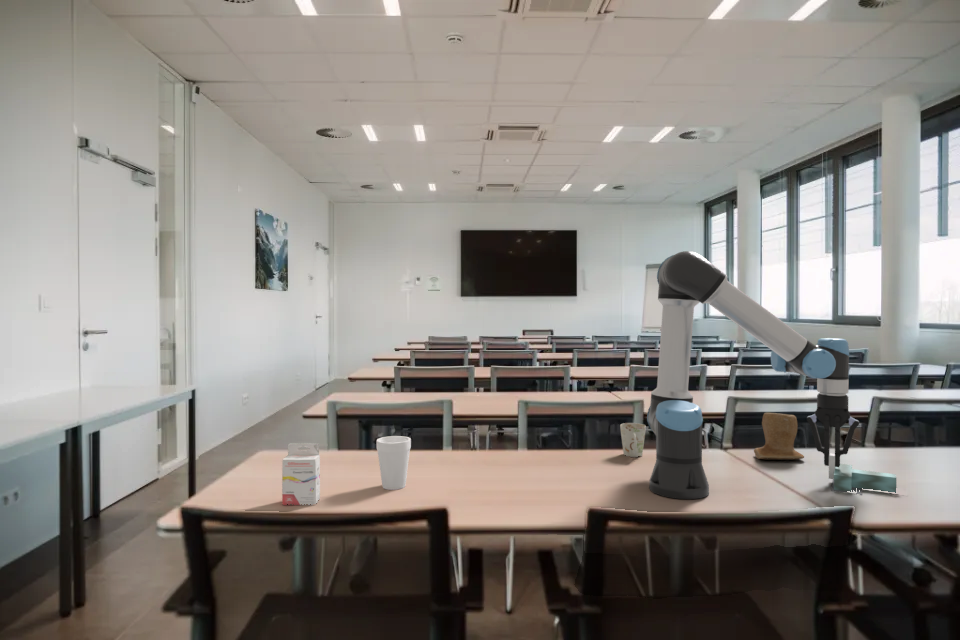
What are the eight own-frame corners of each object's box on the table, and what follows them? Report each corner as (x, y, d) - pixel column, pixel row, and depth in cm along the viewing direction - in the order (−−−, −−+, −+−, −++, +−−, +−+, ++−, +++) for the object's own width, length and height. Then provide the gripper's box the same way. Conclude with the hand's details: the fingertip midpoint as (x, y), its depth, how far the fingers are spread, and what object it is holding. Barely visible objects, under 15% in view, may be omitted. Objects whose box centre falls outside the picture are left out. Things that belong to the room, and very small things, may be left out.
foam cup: (378, 492, 159) (378, 444, 159) (375, 482, 168) (374, 437, 168) (413, 489, 162) (413, 442, 161) (408, 480, 170) (408, 435, 170)
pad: (831, 490, 159) (831, 490, 159) (833, 475, 173) (833, 475, 173) (909, 501, 150) (909, 501, 150) (904, 484, 164) (904, 484, 164)
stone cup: (790, 454, 199) (791, 409, 199) (809, 463, 187) (809, 415, 187) (744, 453, 200) (745, 409, 199) (760, 462, 188) (760, 415, 188)
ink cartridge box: (281, 506, 149) (280, 447, 148) (287, 499, 154) (286, 443, 153) (316, 505, 149) (315, 447, 149) (320, 499, 154) (320, 442, 154)
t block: (833, 489, 160) (833, 474, 160) (835, 476, 172) (835, 463, 172) (897, 498, 152) (897, 482, 152) (894, 484, 164) (894, 470, 164)
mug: (643, 452, 202) (643, 423, 202) (650, 461, 190) (650, 430, 190) (618, 451, 203) (618, 422, 203) (623, 461, 191) (623, 430, 190)
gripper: (860, 393, 165) (859, 477, 166) (807, 390, 172) (806, 471, 173) (860, 397, 159) (859, 484, 159) (805, 393, 166) (804, 477, 166)
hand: (831, 477), depth 166 cm, fingers closed
